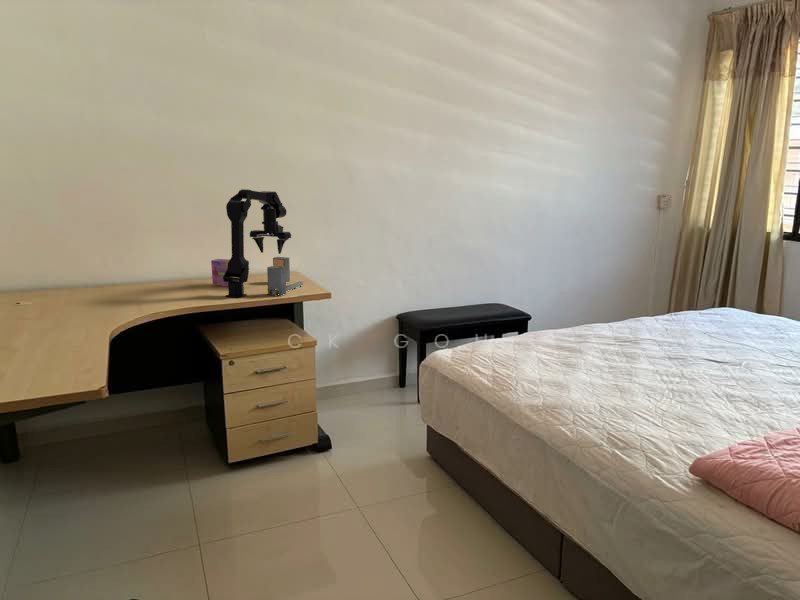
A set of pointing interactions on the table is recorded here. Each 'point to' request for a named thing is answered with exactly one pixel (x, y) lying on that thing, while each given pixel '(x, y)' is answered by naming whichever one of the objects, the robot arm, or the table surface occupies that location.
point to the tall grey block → (276, 279)
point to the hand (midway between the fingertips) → (270, 253)
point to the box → (219, 271)
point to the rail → (288, 287)
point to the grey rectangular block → (283, 265)
